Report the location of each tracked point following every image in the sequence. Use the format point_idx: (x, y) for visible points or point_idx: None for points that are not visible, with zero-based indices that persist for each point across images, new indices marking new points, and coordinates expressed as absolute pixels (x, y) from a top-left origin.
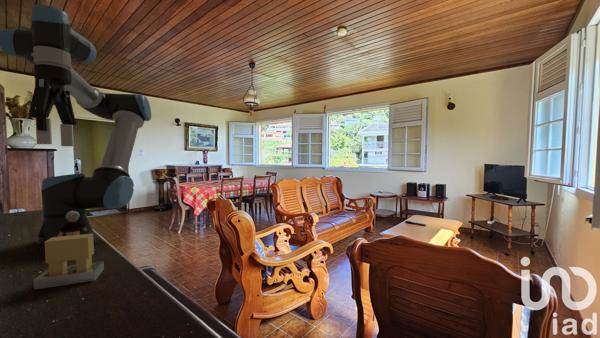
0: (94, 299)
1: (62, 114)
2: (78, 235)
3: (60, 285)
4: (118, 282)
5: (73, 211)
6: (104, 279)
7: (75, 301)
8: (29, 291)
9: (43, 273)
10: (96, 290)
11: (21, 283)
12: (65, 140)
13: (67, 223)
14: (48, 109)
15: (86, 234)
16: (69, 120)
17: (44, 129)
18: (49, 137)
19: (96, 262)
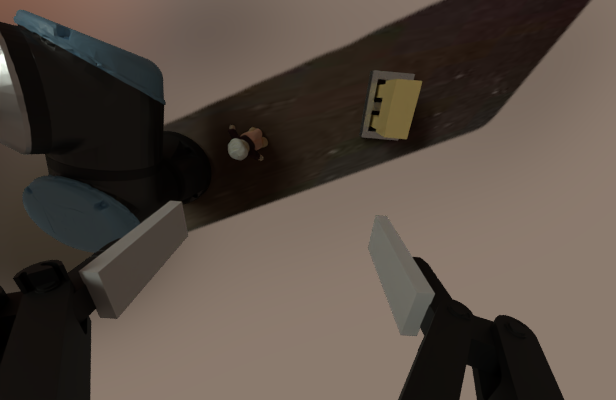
0: (472, 62)
1: (78, 376)
2: (397, 100)
3: None
4: (437, 40)
5: (240, 148)
6: (413, 62)
7: (461, 83)
8: (396, 141)
9: (381, 137)
10: (445, 65)
11: (364, 157)
12: (170, 237)
13: (249, 153)
14: (463, 353)
15: (396, 89)
16: (70, 307)
17: (423, 260)
18: (393, 232)
19: (375, 79)
